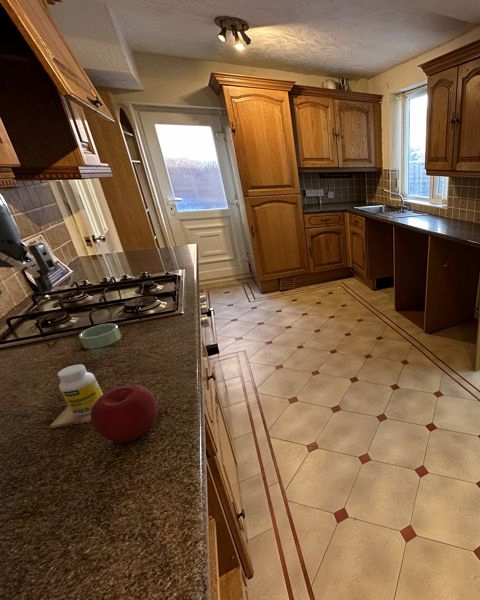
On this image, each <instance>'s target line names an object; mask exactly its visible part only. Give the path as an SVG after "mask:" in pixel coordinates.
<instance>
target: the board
mask: <svg viewBox="0 0 480 600" xmlns="http://www.w3.org/2000/svg"><path fill="white" fill-rule="evenodd" d="M90 421H91V413H88V414H85V415H75V414H73V412H72V411H71V409H70V407H69V406H68V405H67V406H66V408H64V410H63V411H62V412H61V413H60V414H59V415H58V416H57V418H56V419H55V420H53V421H52V423H51V424H50V425H49V427H50V429H51V428H53V429H56V428H55V427H59V428H62V427H61V426H64V427H68V426H67V425H70V426H74V425H73V424H76V425H80V424H79V423H81V424H85V423H84V422H87V423H91V422H90Z"/></svg>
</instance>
